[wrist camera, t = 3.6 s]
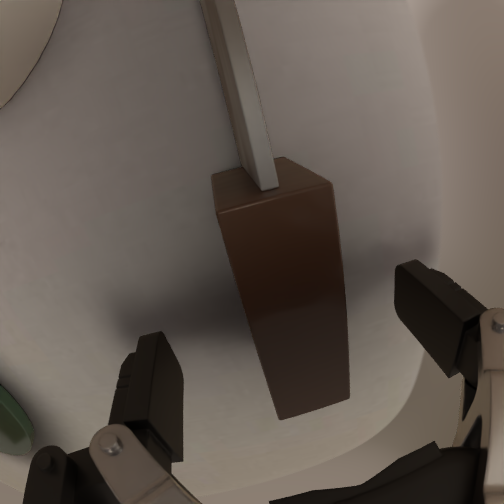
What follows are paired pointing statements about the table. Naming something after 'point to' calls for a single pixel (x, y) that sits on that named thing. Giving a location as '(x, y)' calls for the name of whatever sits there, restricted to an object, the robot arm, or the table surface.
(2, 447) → the cake stand
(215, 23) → the knife
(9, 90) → the cup
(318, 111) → the table surface
